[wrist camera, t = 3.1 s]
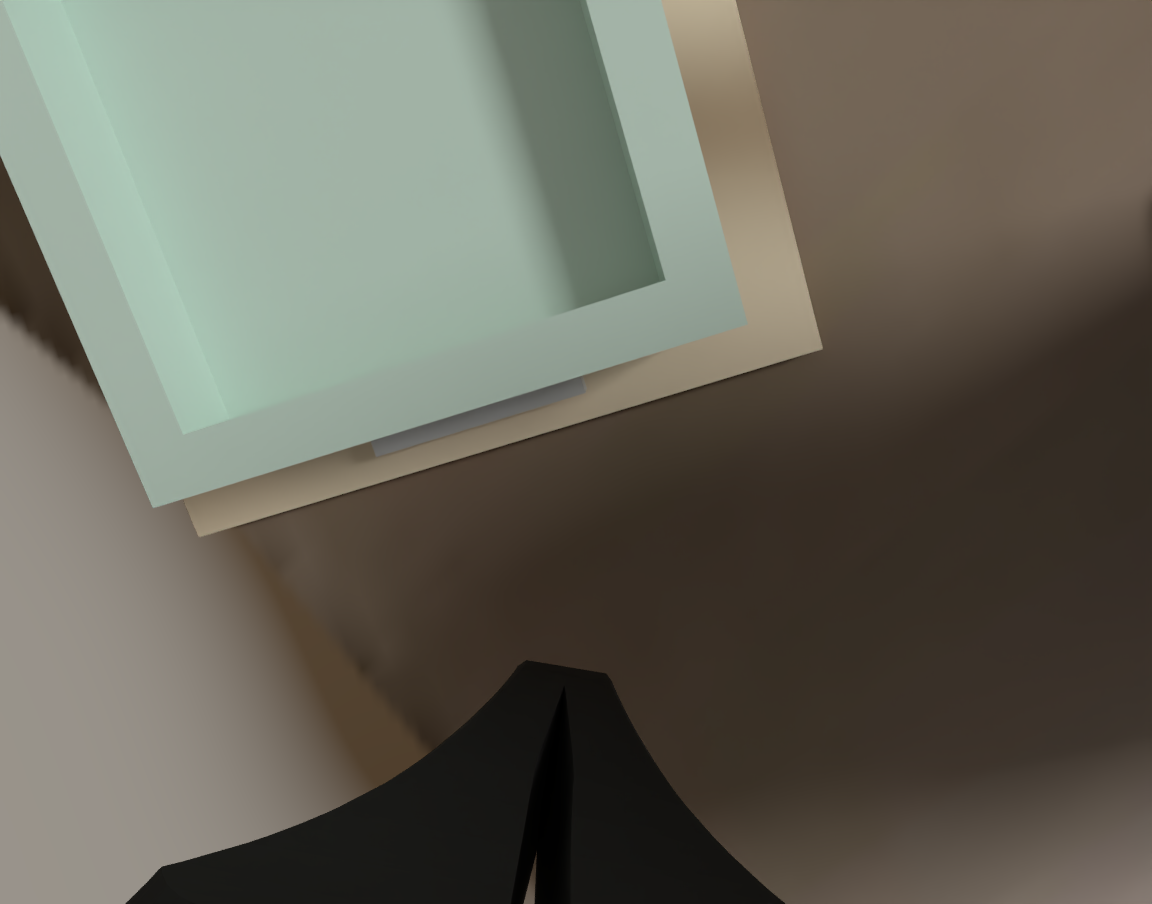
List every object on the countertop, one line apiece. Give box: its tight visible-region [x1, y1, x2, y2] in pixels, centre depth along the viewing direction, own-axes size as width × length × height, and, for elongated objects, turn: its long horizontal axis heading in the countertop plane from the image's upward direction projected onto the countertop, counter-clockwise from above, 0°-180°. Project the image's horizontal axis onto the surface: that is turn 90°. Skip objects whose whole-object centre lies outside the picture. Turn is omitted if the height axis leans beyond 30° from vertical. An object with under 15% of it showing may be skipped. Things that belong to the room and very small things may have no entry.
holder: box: [0, 0, 748, 508], centre depth 10 cm, size 8×8×2 cm
